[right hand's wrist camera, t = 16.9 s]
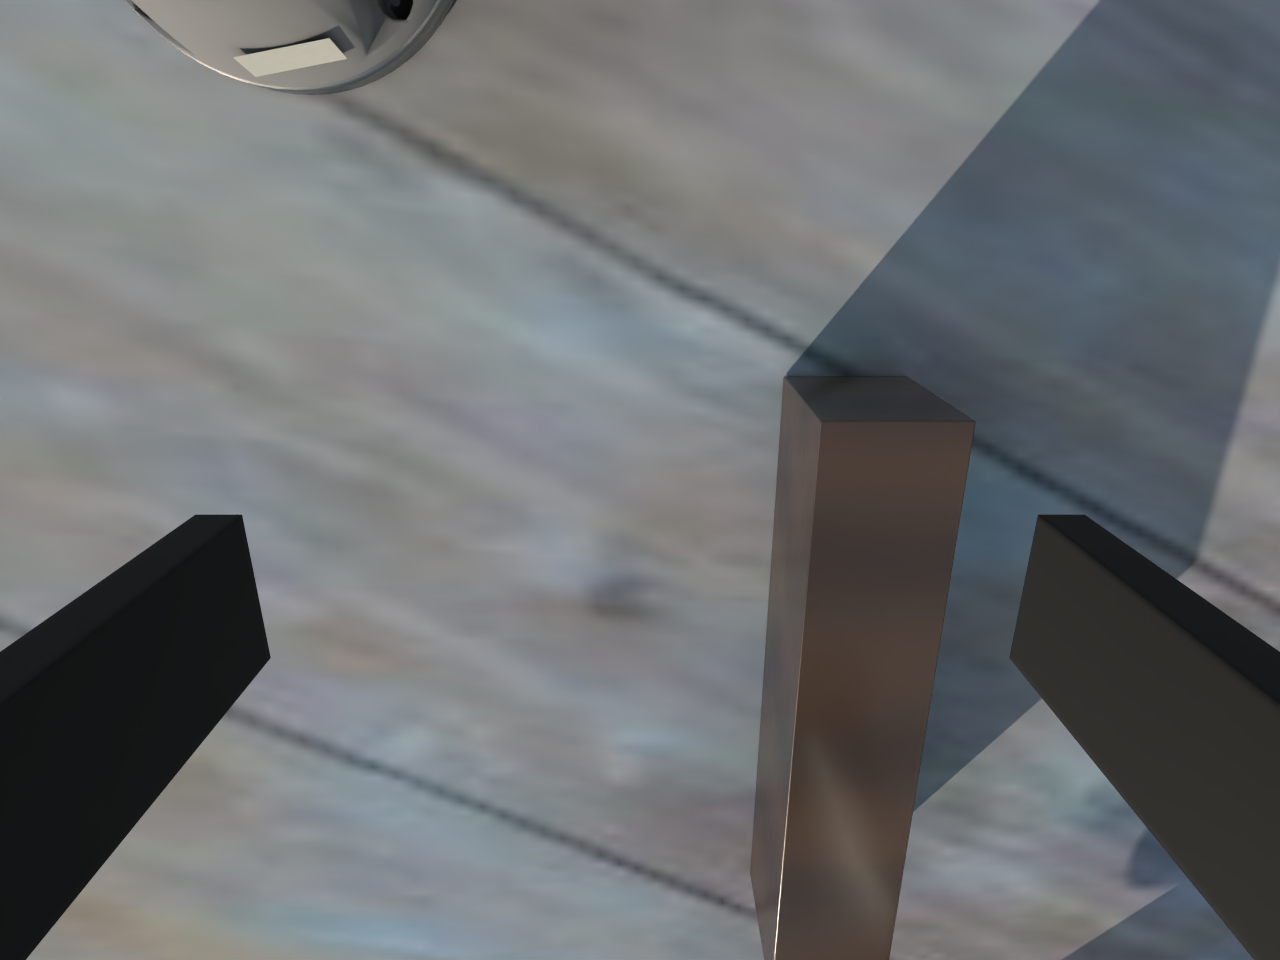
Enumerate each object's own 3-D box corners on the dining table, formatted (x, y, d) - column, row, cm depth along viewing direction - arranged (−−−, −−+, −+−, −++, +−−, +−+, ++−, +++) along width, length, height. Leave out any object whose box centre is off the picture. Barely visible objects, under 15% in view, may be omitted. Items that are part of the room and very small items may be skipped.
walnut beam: (783, 376, 36) (820, 421, 29) (907, 376, 36) (976, 421, 29) (750, 873, 48) (770, 999, 40) (844, 873, 48) (883, 999, 40)
